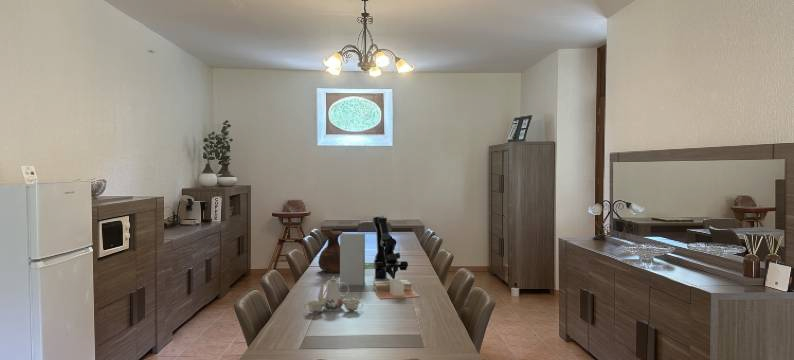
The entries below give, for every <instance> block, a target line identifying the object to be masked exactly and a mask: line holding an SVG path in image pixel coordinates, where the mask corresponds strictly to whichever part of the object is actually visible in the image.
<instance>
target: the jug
mask: <svg viewBox="0 0 794 360" xmlns="http://www.w3.org/2000/svg"><path fill="white" fill-rule="evenodd" d="M320 232H321V233H323V235H324V236H325V237H326V238H327V245H326V247H324V248H323V249H322V250H321V252H320V254H319V257H318V263H317V264H318V266H319V268H320V270H321V271H323V272H326V273H331V274H332V273H334V274H337V273H338V274H340V241H339V238H340V235H342V234H344V232H343V231H341V230H337V231H335V230H334V231H331V229H329V228H321V229H320Z"/></svg>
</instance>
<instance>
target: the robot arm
mask: <svg viewBox="0 0 794 360" xmlns="http://www.w3.org/2000/svg"><path fill="white" fill-rule="evenodd" d="M372 224H373V227H374V229H375V230H376V231H375V232H376V255H375V256H374V261H373V262H372V263H373V267H374V268H375V269H374V279H386V278H388V277H387V276H388V275H389V276H390V277H391V279H392V280H396V279H395V278H396V273H397V272H398V270H400V271H406V270H407V269H408V267H409V262H408V261H406V260H404V261H403V260H402V261H399V262H400V263H399V264H396V263H397V260H398V259H399V260H400V258H401V254H400V252H394V251H395V250H396V245H397V240H396V239H395V238H393V237H392V235H391V234H390V232H389V228H388V218H387V217H385V216H384V215H374V216H373V218H372ZM392 268H393V269H392Z"/></svg>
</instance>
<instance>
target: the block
mask: <svg viewBox="0 0 794 360" xmlns="http://www.w3.org/2000/svg"><path fill="white" fill-rule="evenodd" d="M402 280H403V279H400V278H399V279H389V281H390V293H391V294H392V295H393V296H400V295H404V282H403V281H402Z"/></svg>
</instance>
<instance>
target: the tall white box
mask: <svg viewBox="0 0 794 360" xmlns="http://www.w3.org/2000/svg"><path fill="white" fill-rule="evenodd" d="M339 245H340V272H339V284H340V283H346V284H347V285H348V286H351V285H352V286H364V284H365V283H366V269H365V263H366V233H342V234H341V235H340V236H339ZM341 285H342V286H343V285H345V284H341ZM347 285H346V286H347Z"/></svg>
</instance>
